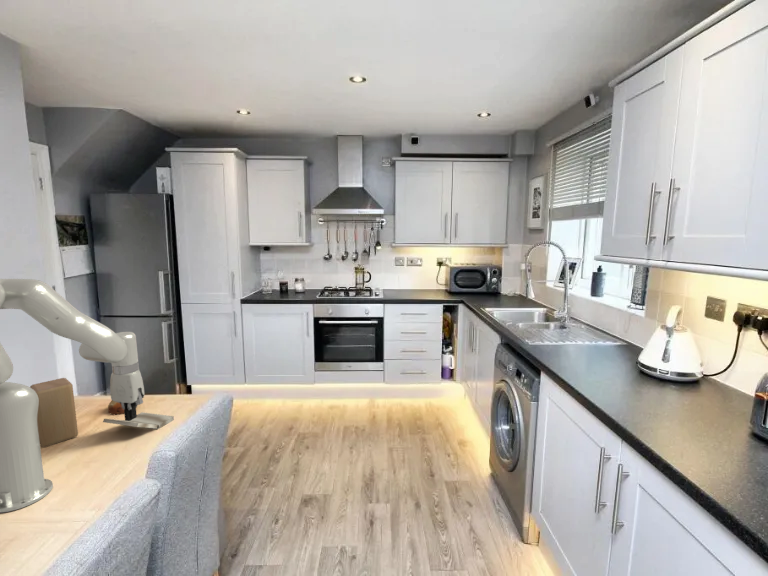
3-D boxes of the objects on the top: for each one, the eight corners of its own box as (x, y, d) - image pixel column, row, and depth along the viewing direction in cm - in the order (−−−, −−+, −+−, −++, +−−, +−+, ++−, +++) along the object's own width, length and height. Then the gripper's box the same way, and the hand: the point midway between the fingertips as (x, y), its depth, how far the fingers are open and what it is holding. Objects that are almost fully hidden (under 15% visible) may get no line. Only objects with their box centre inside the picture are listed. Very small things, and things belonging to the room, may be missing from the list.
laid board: (157, 429, 139) (157, 425, 139) (124, 425, 143) (124, 421, 143) (173, 419, 147) (173, 416, 146) (142, 415, 150) (141, 412, 150)
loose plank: (137, 426, 131) (138, 422, 131) (102, 422, 134) (104, 418, 135) (156, 428, 139) (157, 424, 139) (123, 423, 142) (125, 420, 143)
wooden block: (71, 428, 141) (65, 376, 138) (79, 437, 134) (72, 382, 132) (35, 439, 133) (28, 384, 130) (41, 449, 127) (34, 391, 124)
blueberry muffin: (134, 411, 162) (130, 393, 163) (143, 407, 156) (138, 388, 158) (107, 420, 154) (102, 401, 156) (115, 416, 148) (110, 396, 150)
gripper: (98, 370, 128) (103, 421, 131) (133, 373, 125) (139, 426, 127) (118, 363, 135) (123, 412, 138) (152, 366, 132) (157, 416, 134)
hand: (131, 418), depth 132 cm, fingers closed
